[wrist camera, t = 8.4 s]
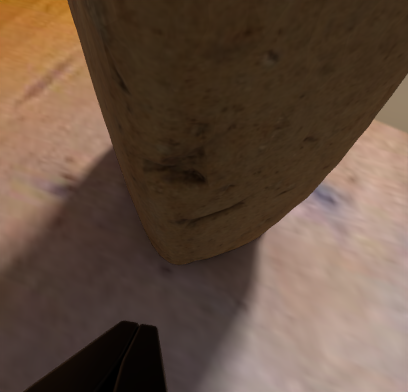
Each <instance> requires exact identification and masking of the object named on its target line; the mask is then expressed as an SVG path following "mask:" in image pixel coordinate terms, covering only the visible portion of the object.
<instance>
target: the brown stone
mask: <svg viewBox="0 0 408 392" xmlns="http://www.w3.org/2000/svg"><path fill="white" fill-rule="evenodd" d="M68 4H69V7H70V10H71V14H72V17H73V20H74V24H75V26H76V29H77V32H78V36H79V39H80V42H81V46H82V49H83V53H84V56H85V60H86V63H87V66H88V70H89V73H90V76H91V80H92V83H93V86H94V90H95V93H96V96H97V99H98V102H99V105H100V108H101V112H102V115H103V118H104V121H105V124H106V126H107V129H108V132H109V135H110V138H111V142H112V144H113V147H114V150H115V153H116V156H117V159H118V162H119V165H120V168H121V171H122V173H123V176H124V178H125V182H126V185H127V188H128V191H129V193H130V196H131V198H132V201H133V203H134V206H135V208H136V211H137V213H138V215H139V218H140V221H141V223H142V225H143V227H144V230H145V232H146V234H147V236H148V238H149V240H150V241H151V243H152V245H153V247H154V248H155V249H156V251H157V252H158V253H159V255H160V256H162V257H163V258H164V259H166V260H167V261H168V262H169V263H172V264H176V265H182V264H187V263H190V262H193V261H195V260H202V259H208V258H210V257H213V256H216V255H219V254H222V253H225V252H227V251H230V250H233V249H236V248H238V247H240V246H243V245H245V244H247V243H249V242H250V241H252V240H254V239H256V238H257V237H259V236H260V235H262V234H263V233H264V232H266V231H267V230H268V229H269V228H271V227H272V226H273V225H275V224H276V223H277V222H279V221H280V220H281V219H282V218H283V217H284V216H285V215H286V214H287V213H289V212H290V211H291V210H292V209H293V208H294V207H296V206H297V205H298V204H300V203H301V202H302V201H304V200H305V199H306V198H307V197H308V196H309V195H310V194H311V193H312V192H313V191H314V190H315V189H316V188H317V187H318V185H319V184H320V183H321V182H322V181H323V180H324V178H325V177H326V176H327V175H328V174H329V173H330V172H331V171H332V170H333V169H334V168H335V167H336V166H337V165H338V164H339V162H340V161H341V160H342V159H343V157H344V156H345V155H346V153H347V152H348V151H349V150H350V148H351V147H352V146H353V144H354V143H355V142H356V141H357V140H358V138H359V137H360V136H361V135H362V134H363V133H364V131H365V130H366V129H367V128H368V127H369V125H370V124H371V122H372V121H373V119H374V118H375V116H376V115H377V114H378V112H379V111H380V110H381V109H382V107H383V106H384V105H385V104H386V102H387V101H388V100H389V98H390V97H391V96H392V94H393V93H394V92H395V90H396V89H397V87H398V86H399V84H400V83H401V82H402V80H403V79H404V78H405V76H406V75H407V74H408V0H68Z"/></svg>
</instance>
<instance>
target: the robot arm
mask: <svg viewBox="0 0 408 392" xmlns="http://www.w3.org/2000/svg"><path fill="white" fill-rule="evenodd" d="M23 392H168V389H167V383H166V377H165V371H164V365H163V359H162V353H161V347H160V341H159V335H158V329H157V327H156V326H152V325H146V324H141V325H140V326H139V324H138V323H136V322H130V321H121V322H119V323H118V324H117V325H115V326H114V327H112V328H111V329H110V330H108V331H107V332H105V333H104V334H103V335H101V336H100V337H98V338H97V339H96V340H94V341H93V342H92V343H90V344H89V345H87V346H86V347H85V348H83V349H82V350H80V351H79V352H78V353H76V354H75V355H73V356H72V357H71V358H69V359H68V360H66V361H65V362H64V363H62V364H61V365H60V366H58V367H57V368H55V369H54V370H53V371H51V372H50V373H48V374H47V375H46V376H44V377H43V378H41V379H40V380H39V381H37V382H36V383H34V384H33V385H32V386H30V387H29V388H28V389H26V390H25V391H23Z"/></svg>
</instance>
